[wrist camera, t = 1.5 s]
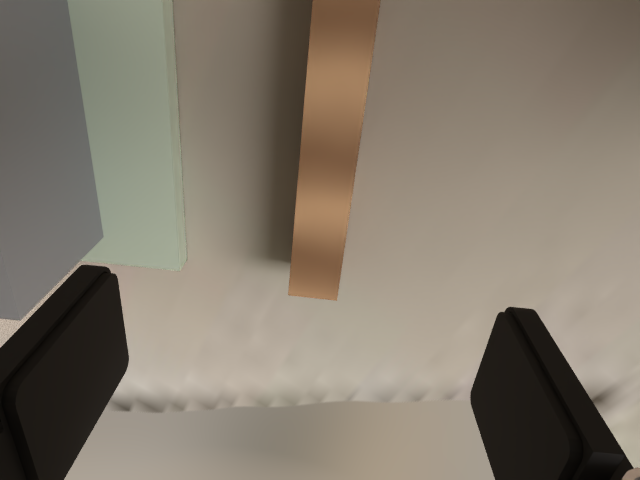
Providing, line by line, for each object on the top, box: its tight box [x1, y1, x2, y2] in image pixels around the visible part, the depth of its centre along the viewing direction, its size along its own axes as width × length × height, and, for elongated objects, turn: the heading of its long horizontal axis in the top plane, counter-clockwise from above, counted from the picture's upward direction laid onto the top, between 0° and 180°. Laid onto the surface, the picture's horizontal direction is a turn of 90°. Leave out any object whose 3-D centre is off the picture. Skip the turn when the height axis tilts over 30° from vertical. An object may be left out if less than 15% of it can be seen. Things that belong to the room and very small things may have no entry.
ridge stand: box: [0, 0, 187, 320], centre depth 22 cm, size 12×19×10 cm, turn 175°
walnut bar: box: [288, 0, 380, 300], centre depth 25 cm, size 18×3×4 cm, turn 174°
